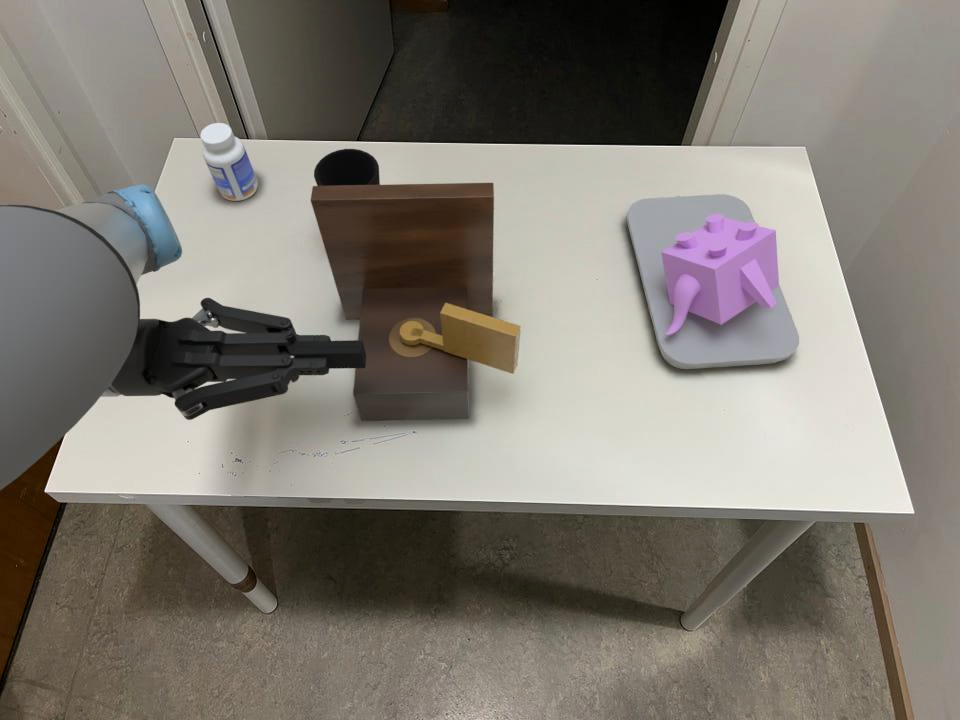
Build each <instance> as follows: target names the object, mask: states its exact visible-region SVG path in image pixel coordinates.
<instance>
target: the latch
mask: <svg viewBox="0 0 960 720" xmlns="http://www.w3.org/2000/svg"><path fill="white" fill-rule="evenodd" d="M440 316H441V326H442V336H441V335H438V334H435V333H432V332H429V331H426V330H424V329H423V326H422V325H421V324H420V323H419V322H416V321H408V322H406V323H404V324H403V325H402V326H401V328H400V337H401V340H402V341H403V342H404V343H405V344H407V345H417V344H419V343H422V344H425V345H428V346H431V347H434V348H437V349H440V350H444V352H447V353H450V354H453V355H456V356H459V357H462V358H465V359H468V360H469V361H471V362H475V363H477V364H481V365H484V366H487V367H489V368H493V369H496V370H499V371H503V372H504V373H505V372H506V373H508V374H512V375H514V374H515V372H516V370H517V368H518V364H519V353H520V337H521V325H519V324H515V323H513V322H509V321H506V320H503V319H499V318H496V317H493V316H487V315H484V314H481V313H477V312H474V311H471V310H468V309H464V308H461V307H458V306H455V305H452V304H448V303H445V304H444V306H443V308H442V310H441V312H440Z"/></svg>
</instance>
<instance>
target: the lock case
mask: <svg viewBox="0 0 960 720" xmlns="http://www.w3.org/2000/svg"><path fill="white" fill-rule="evenodd" d="M310 203H311V207H312V211H313V214H314V217H315V220H316V223H317V226H318V230H319V233H320V237H321V240H322V243H323V247H324V251H325V253H326V257H327V260H328V264H329V267H330V270H331V273H332V276H333V277H332V278H333V281H334V284H335V287H336V291H337V294H338V297H339V300H340V305H341V307H342V310H343V313H344V318H345V320H359V325H358V326H359V328H358V337H357V338H358V339H357V340H362V341H363V345H364V348H365V352H366V366H365V368H354V379H353V380H354V381H353V391H352V395H353V399H354V401H355V404H356V407H357V410H358V413H359V416H360V419H361V421H363V422H364V421H410V420H411V421H412V420H414V421H415V420H457V419H458V420H459V419H460V420H461V419H462V420H463V419H470V375H469V373H470V369H469V365H470V364H469V361H470V360H468V359H465V358H462V357H459V356H456V355H453V354H450V353H447V352H444V350H440V349H437V348H434V347H431V346H428V345H425V344H422V343H419V344H417V345H407V344H405V343H404V342H403V341H402V340H401V337H400V328H401V326H402V325H403V324H404V323H406V322H408V321H416V322H419V323H420V324H421V325H422V326H423V329H424V330H426V331H429V332H432V333H435V334H438V335H441V336H442V326H441V316H440V312H441V310H442V308H443V306H444V304H445V303H448V304H452V305H455V306H458V307H461V308H464V309H468V310H471V311H474V312H477V313H481V314H484V315H487V316H490V317H493V313H494V311H493V309H494V306H493V305H494V304H493V303H494V301H493V300H494V292H493V291H494V234H495V233H494V230H495V228H494V227H495V223H494V222H495V188H494V182H459V183H458V182H455V183H452V182H451V183H405V184H403V183H400V184H398V183H397V184H395V183H394V184H380V185H341V186H317V185H313V186H312V190H311V195H310Z"/></svg>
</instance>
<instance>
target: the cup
mask: <svg viewBox="0 0 960 720" xmlns="http://www.w3.org/2000/svg"><path fill="white" fill-rule="evenodd" d="M379 165H380V164H379V162H378V160H377V159H376V158H375V157H374V156H373V155H372V154H371V153H369V152H367V151H364V150H361V149H357V148H343V149H338V150H334V151H332V152H329V153H327V154H326V155H325V156H323V157H322V158H321V159H320V160H319V161H318V163H316V165H315V167H314V170H313V177H314V181H315V183H316V186H341V185H381V180H380V178H381V177H380V166H379Z"/></svg>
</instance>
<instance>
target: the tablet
mask: <svg viewBox="0 0 960 720" xmlns="http://www.w3.org/2000/svg"><path fill="white" fill-rule="evenodd" d="M712 214H722V215H723V216H724V218H728V219H732V220H736V221H740V222H744V223H747V222H755V221H756V220H755V219H754V217H753V212H752V210H751V209H750V207H749V205H748V204H747V203H746V202H744V200H741V199H740V198H739V197H736V196H734V195H730V194H726V193H725V194H724V193H723V194H722V193H721V194H720V193H719V194H702V195H686V196H685V195H684V196H671V197H670V196H668V197H667V196H665V197H652V198H651V197H649V198H642V199H639V200H636V201H634V202H633V203H632V204H631V205H630V206H629V208H628V209H627V213H626V223H627V227H628V232H629V235H630V239H631V243H632V248H633V250H634V251H633V252H634V254H635V255H634V256H635V259H636V263H637V266H638V267H637V268H638V270H639V275H640V278H641V283H642V287H643V291H644V295H645V298H646V303H647V306H648V311H649V315H650V318H651V322H652V323H651V324H652V325H653V326H652V327H653V330H654V333H655V338H656V342H657V346H658V348H659V351H660V353H661V356H662V358H663V359H664V361H666V363H667V364H669V365H670V366H671V367H675V368H676V369H681V370H693V369H694V370H695V369H710V368H724V367H725V368H727V367H740V366H741V367H742V366H757V365H771V364H776V363H778V362H781V361H785V360H787V359H789V358H790V357H792V356H793V355H794V353H795V352H796V351H797V350H798V348H799V345H800V335H799V332H798V330H797V329H798V328H797V327H796V324H795V322H794V319H793V316H792V314H791V311H790V308H789V307H788V303H787V301H786V299H785V295H784V293H783V290H782V288H781V286H780V284H779V285H778V287H776V288H775V289H773V290H772V291H771V292H772V294H773V296H774V298H775V300H776V302H777V305H775V306H774V307H772V308H762V306H761V305H760V304H759V303H758V302H757V301H756V302H755V303H753V304H752V305H750V306H749V307H747V308H746V309H744V310H743V311H741V312H740V313H738V314H737V315H735V316H734V317H732V318H731V319H729V320H728V321H726V322H725V323H723V324H722V325H721V324H719V323H716V322H714V321H711V320H709V319H706V318H704V317H701V316H698V315H696V314H693V313H691V312H689V311H688V313H687V316H686V319H685V321H684V323H683V325H682V326H681V328H680V329H679V330H678V331H676V332H675V333H673V334H670V335H667V334H666V332H667V330H668V328H669V327H670V325H671V324H672V321H673V318H674V305H671V304H670V302H669V296H668V290H667V284H666V278H665V272H664V266H663V260H662V254H661V252H662V251H664V250H665V249H667V248H669V247H670V246H672V245H673V244H675V243H677V242H678V241H677V240H676V239H675V237H676V236H677V235H678V234H680V233H685V232H690V233H693V232H694V231H696V230H698V229H699V228H701V227H703V226H704V225H706V224H707V222H706V218H707V217H708V216H710V215H712ZM755 223H756V222H755Z"/></svg>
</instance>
